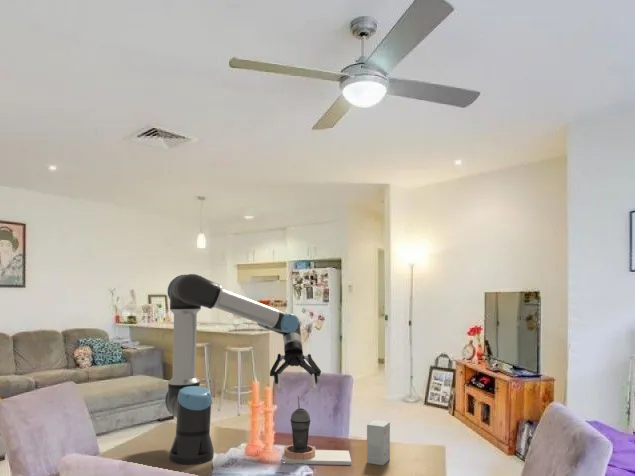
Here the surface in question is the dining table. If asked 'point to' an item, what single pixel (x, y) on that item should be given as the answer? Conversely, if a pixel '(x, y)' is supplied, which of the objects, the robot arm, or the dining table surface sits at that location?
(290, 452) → the terracotta ring holder
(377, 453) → the small box
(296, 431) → the beverage cup
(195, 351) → the robot arm
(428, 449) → the dining table surface
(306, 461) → the pale grey board
